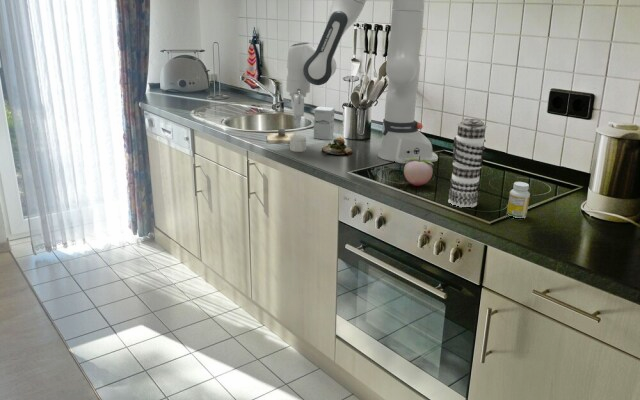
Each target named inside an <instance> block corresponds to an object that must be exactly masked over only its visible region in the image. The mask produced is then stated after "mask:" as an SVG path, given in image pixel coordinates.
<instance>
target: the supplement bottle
mask: <svg viewBox="0 0 640 400" xmlns="http://www.w3.org/2000/svg"><path fill="white" fill-rule="evenodd" d="M529 187H530V185H529V183H527V182H523V181H515V182H514V183H513V189H511V190H510V191H509V196H508V202H507V203H508V204H507V207H506V208H507V209H506V215H507V214H508V215H511V216H513V217H515V218H524V219H525V218H526V217H527V214H528V208H529V202H530V198H531V196H530V195H531V193H530V192H529V189H530V188H529Z"/></svg>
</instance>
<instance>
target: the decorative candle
mask: <svg viewBox="0 0 640 400" xmlns="http://www.w3.org/2000/svg"><path fill="white" fill-rule="evenodd" d="M457 125H458V126H457V134H456V136H454V138H453V141H454V142H453V144H452V146H453V150H452V156H451V158H452V159H453V160H452V163H451V164H452V166H453V168H452V169H453V170H452V173H451V178H450V184H449V187H450V189H448V193H449V194H448V201H447V202H448V204H449V203H451V204H452V205H451V204H450V205H451V206H453V205H456V206H455V207H457V206H459V207H458V208H462V207H471V208H474V207H477V205H478V200H479V198H478V197H479V195H480V194H479V190H480V185H481V182H480V177H481V176H480V173H481V169H482V168H483V161H484V158H483V157H482V156H484V155H486V152H485V150H486V146H485V145H484V143H486V139H485V138H486V137H485V133H486V129H487V127H488V126H487V125H485V123H484V121H483V120H482V119H478V118H464V119H462V120H461V121H460V123H458V124H457Z"/></svg>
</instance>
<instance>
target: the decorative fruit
mask: <svg viewBox="0 0 640 400" xmlns="http://www.w3.org/2000/svg"><path fill="white" fill-rule="evenodd" d="M406 161H409V162H407V163H405V165H404V168H403V175H404V177H405V179H406V181H407V182H408V183H409V184H411V185H412V186H415V187H419V186H421V185H422V186H423V185H425V184H427V183H428V182H429V181H430V180H431V179H432V176H433V166H434V167H435V165H434V163H433V162H430V161H428V160H420V156H419V160H418V159H415V158H410V159H407V160H405V161H404V162H406Z"/></svg>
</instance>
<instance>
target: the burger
mask: <svg viewBox="0 0 640 400" xmlns="http://www.w3.org/2000/svg"><path fill="white" fill-rule="evenodd" d="M340 135H342V133H341V134H340ZM345 143H346V142H345V139H344V138H342V136H339V137H336V138H334V139H333V143H331V142H329V143H328V144H327V145H326V146H323V147H322V148H321V152H324V153H327V154H330V155H337V156H338V155H346V154H347V156H348V157H349V156H351V155H352V154H353V148H351V147H349V146H347V145H346V144H345Z"/></svg>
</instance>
